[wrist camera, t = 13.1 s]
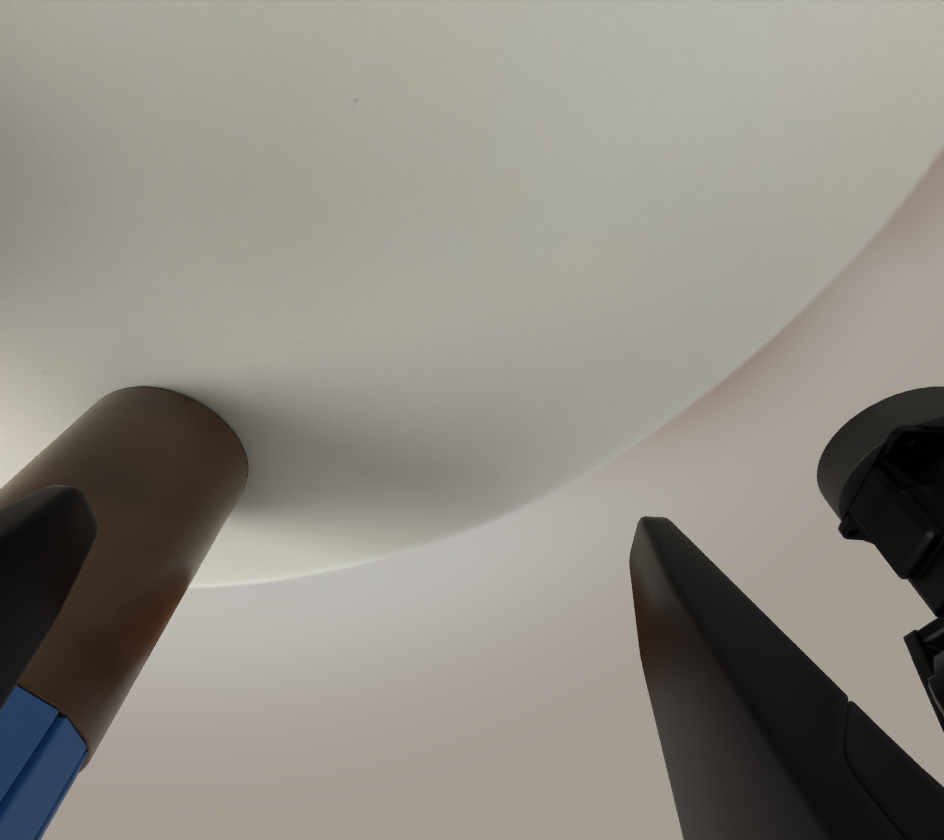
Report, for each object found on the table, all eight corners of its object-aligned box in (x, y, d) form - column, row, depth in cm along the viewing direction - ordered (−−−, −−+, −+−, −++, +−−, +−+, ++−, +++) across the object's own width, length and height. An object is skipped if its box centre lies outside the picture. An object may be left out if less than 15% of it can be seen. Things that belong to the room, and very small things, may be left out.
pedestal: (230, 390, 22) (29, 655, 12) (261, 515, 25) (123, 793, 16) (61, 382, 22) (-269, 640, 12) (116, 508, 25) (-107, 781, 16)
